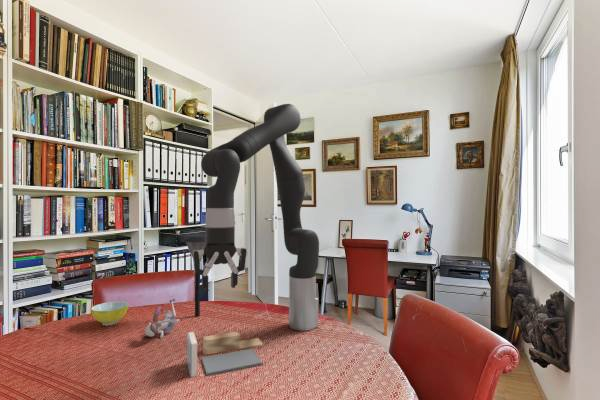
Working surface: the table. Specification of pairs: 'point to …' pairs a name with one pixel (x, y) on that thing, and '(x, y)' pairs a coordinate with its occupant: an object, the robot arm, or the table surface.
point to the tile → (192, 354)
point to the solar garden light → (199, 244)
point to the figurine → (162, 322)
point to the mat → (230, 361)
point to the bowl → (109, 312)
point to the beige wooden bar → (227, 343)
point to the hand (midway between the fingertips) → (219, 288)
